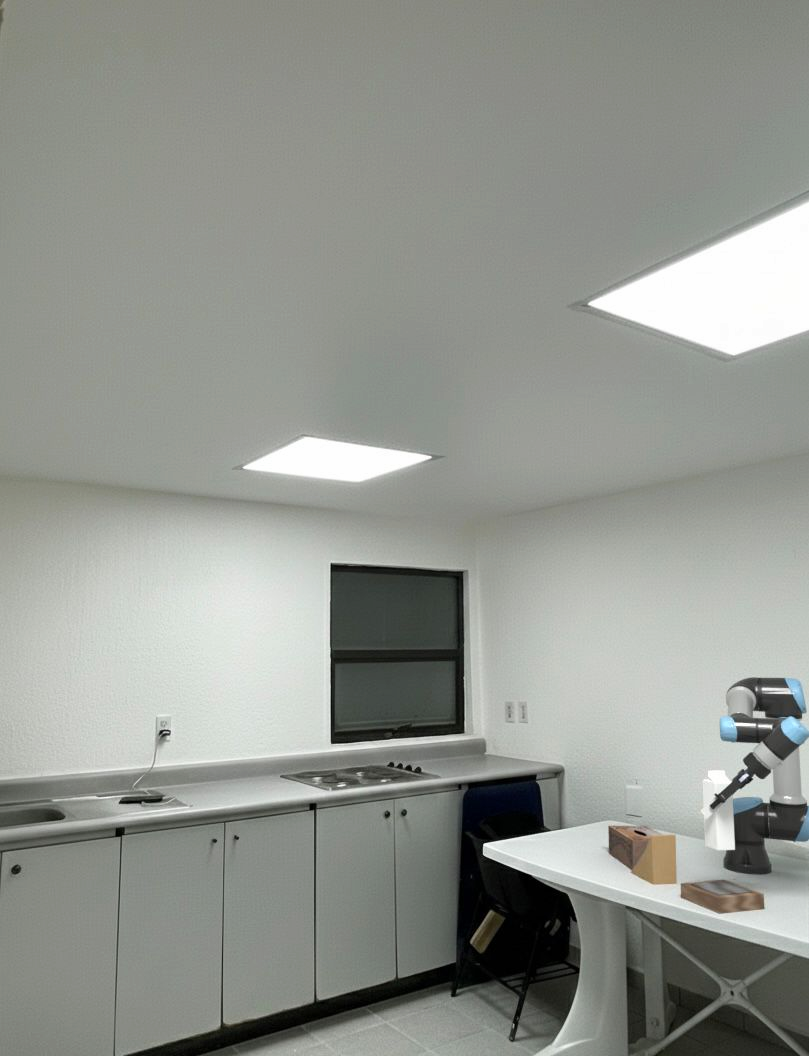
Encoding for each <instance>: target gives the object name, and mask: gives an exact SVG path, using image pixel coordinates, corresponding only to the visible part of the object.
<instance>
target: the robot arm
mask: <svg viewBox="0 0 809 1056" xmlns="http://www.w3.org/2000/svg"><path fill="white" fill-rule="evenodd" d="M725 703H726V705H727V708H728V709H727V716H721V717H720V718H719V737H720V740H721V741H723V742H731V743H740V744H741V743H742V744H745V743H747V744H757V745H756V746H755V747H754V748H753V749H752V751H750V752H749V753H748V754H747V755H746V756H744V758H742V762H743V764H744V765H745V766H746V767H747V768H746V769H744V768H742V769H741V770H739V771H738V773H737V774H736V775H735V776H734V777H733V778H732V779H731V783H730V784H729V785H728V786H727V787H726V788H725V789H724V790H723V791H722V792H721V793H719V794H718V795H717V794H716V793H715V794H714V795H715V796H716V797H715V798H713V799H712V800H711V801H710V802H709V803H708V804H707V805H706V806H705V807H704V808H701V810H700V811H699V812H700V813H701V814H702V815H703V817H704V816H705V817H706V818H708V817H709V816H711V815H712V814H713V813H714V812H715V811H716V810H717V809H718V808H719V807H720V806H721V805H722V804H723V803H725V802H726V800H727V799H728V798H729V797H730V796H731V795H734V794H735V793H736V792H737V791H738V790H742V789H743V788H744V787H746V785H749V784H751V782H752V781H753V780H754V778H753V777H754V776H756V777H757V778H758V779H760V780H765V779H766V778H767V777H768V776H769V775H770V774H771V773H772V782H773V783H772V784H773V785H772V786H773V794H771V795H770V796H769V797H768V798H769V801H768V802H764V800H763V798H762V797H759V796H743V797H735V798H733V816H734V838H735V850H725V854H724V858H723V867H724V868H725V869H727V870H729V871H733V872H736V873H737V872H738V873H742V874H743V873H745V874H752V875H753V874H754V875H763V874H769V873H772V871H773V870H772V862H771V861H770V857H769V855H768V852H767V849H766V844H765V839H767V840H778V841H779V840H780V841H789V842H793V843H796V842H802V843H806V842H809V805H808V800H807V799H806V798H805V797H804V796H803V794H802V780H801V779H802V776H801V762H800V761H801V758H800V747H801V745H804V744H805V743H806V741H807V740H808V739H809V730H808V729H807V727H806V726H805V725H804V724H803V723H801V721H802V720H803V715H805V714H807V713H808V710H807V705H806V700H805V695H804V690H803V685H802V683H801V681H800V680H799V679H797V678H790V677H756V676H755V677H754V676H752V677H747V678H744V679H740V680H739V681H737V682H735V683H733V684H732V685H731V686H730V687H729V688H728V690H727V692H726V694H725ZM754 712H759V713H760V712H763V713H764V717H754Z"/></svg>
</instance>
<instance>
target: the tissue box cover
mask: <svg viewBox="0 0 809 1056" xmlns="http://www.w3.org/2000/svg"><path fill="white" fill-rule="evenodd" d="M652 835H663V834H662V833H661V832H658V831H657V830H655V829H653V828H651V827H649V826H647V825H608V854H609V855H611V856H612V857H613V858H614V859H616V860H617V861H619V862H620V863H621V864H623V865H624V866H625V867H627V868H628V869H629V870H631V871H632V869H633V868H634V866H635V865H636V863H637V861H638V860H639V858H640V856H641V854H642V852H643V851H644V849H645V847H646V845H647V844H648V842H649V840H650V838H651V836H652Z"/></svg>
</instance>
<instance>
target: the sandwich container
mask: <svg viewBox="0 0 809 1056" xmlns="http://www.w3.org/2000/svg"><path fill="white" fill-rule="evenodd" d="M676 838H677V837H676V834H662V835H652V836H651V838H650V840H649V842H648V844H647V845H646V847H645V849H644V851H643V852H642V854H641V856H640V858H639V860H638V861H637V863H636V865H635V866H634V868H633V869H632V870H631V871H630V874H632V875H634V876H636V877H637V878H640V879H642V880H644V881H646V882H648V883H649V884H651V885H654V886H655V885H656V886H657V885H677V884H678V883H677V882H678V881H677V851H676V850H677V846H676V845H677V843H676V842H677V839H676Z"/></svg>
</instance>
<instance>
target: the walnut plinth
mask: <svg viewBox="0 0 809 1056" xmlns="http://www.w3.org/2000/svg"><path fill="white" fill-rule="evenodd" d="M764 895H765V894H764V893H762V892H759V891H756V890H754V889H752V888H751V889H750V888H748V887H745V886H743V885H740V884H737V883H734V882H732V881H728V880H726V879H717V880H714V879H713V880H703V881H693V882H680V898H681V899H684V900H686V901H689V902H691V903H693V904H696V905H697V906H700V907H703V908H704V909H707V910H710V911H712V912H714V913H717V914H725V913H727V914H729V913H736V912H737V913H738V912H745V911H746V912H747V911H755V910H757V911H758V910H764V909H765V896H764Z"/></svg>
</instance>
